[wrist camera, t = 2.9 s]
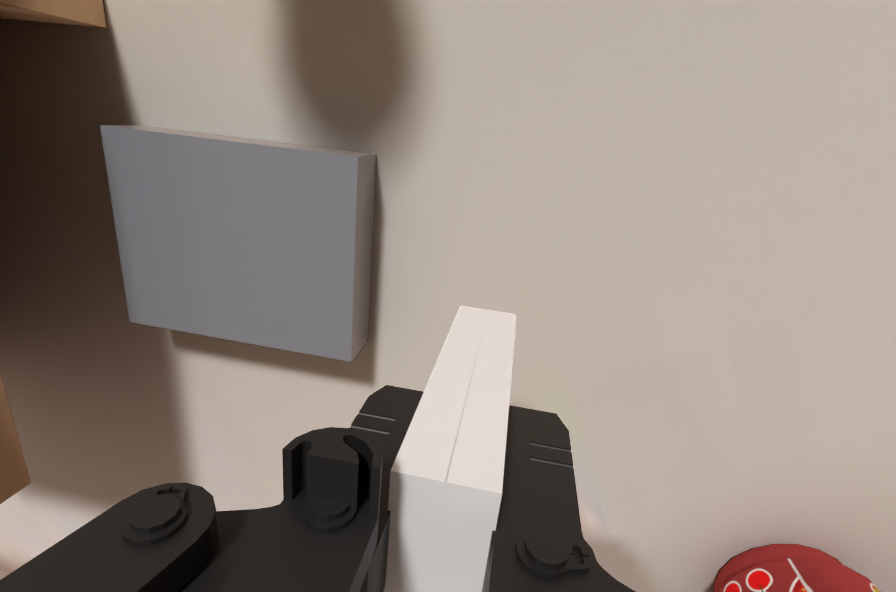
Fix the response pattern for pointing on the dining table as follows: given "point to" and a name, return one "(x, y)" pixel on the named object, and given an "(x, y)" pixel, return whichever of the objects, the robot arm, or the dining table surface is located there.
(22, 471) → the oak shelf
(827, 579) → the smoothie
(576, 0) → the dining table surface
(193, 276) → the slate board
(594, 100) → the dining table surface
